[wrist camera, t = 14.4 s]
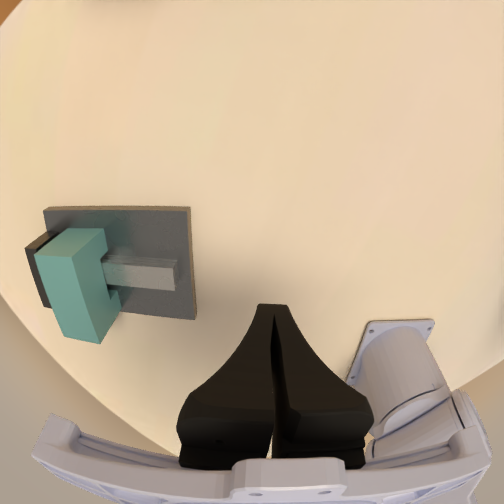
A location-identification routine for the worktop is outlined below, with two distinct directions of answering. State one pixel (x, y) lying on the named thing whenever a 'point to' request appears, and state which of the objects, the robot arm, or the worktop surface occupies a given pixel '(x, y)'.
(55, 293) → the block
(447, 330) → the worktop surface
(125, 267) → the rail base
